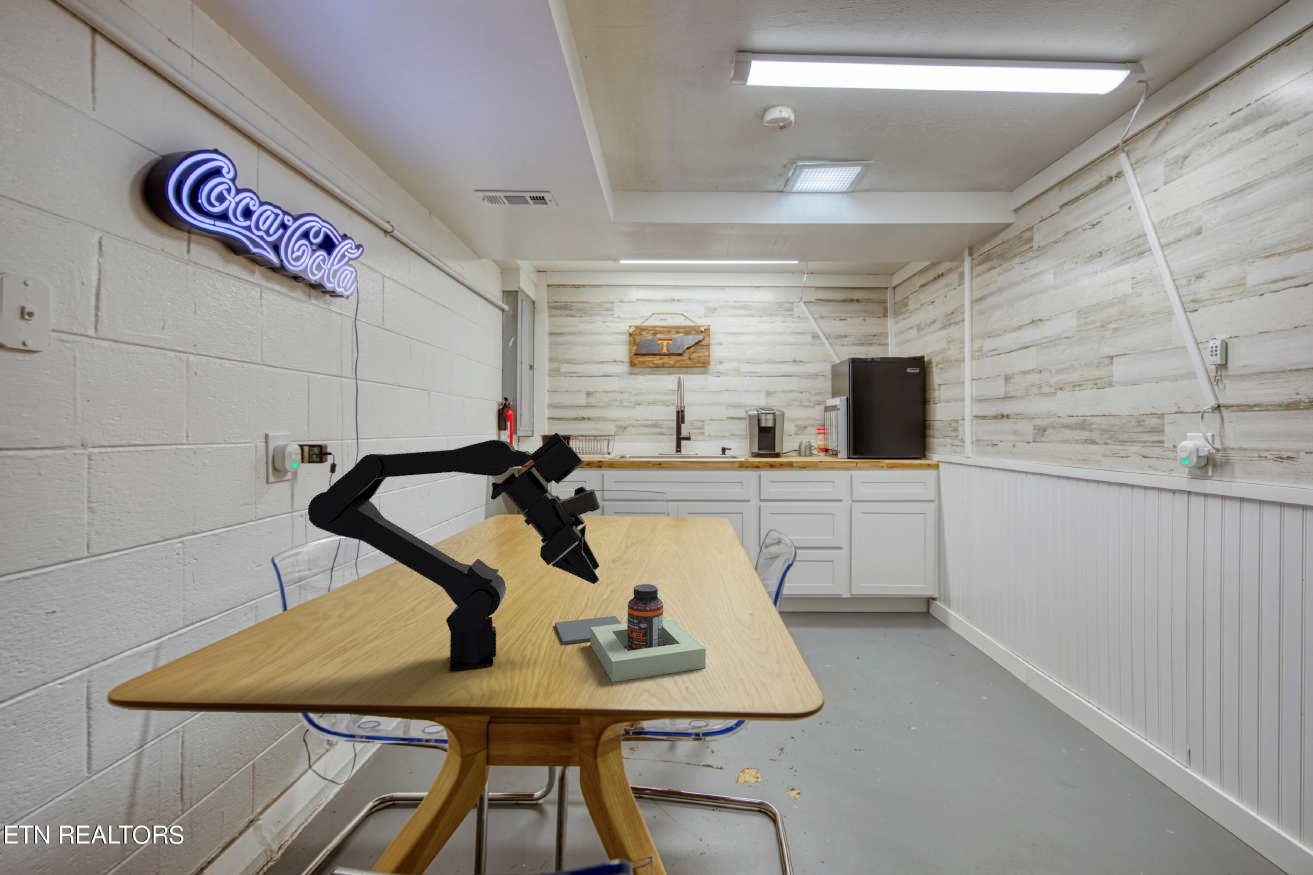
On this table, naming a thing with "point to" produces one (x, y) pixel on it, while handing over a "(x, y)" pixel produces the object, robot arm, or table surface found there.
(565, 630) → the mat
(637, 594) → the supplement bottle
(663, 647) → the square frame
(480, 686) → the table surface
